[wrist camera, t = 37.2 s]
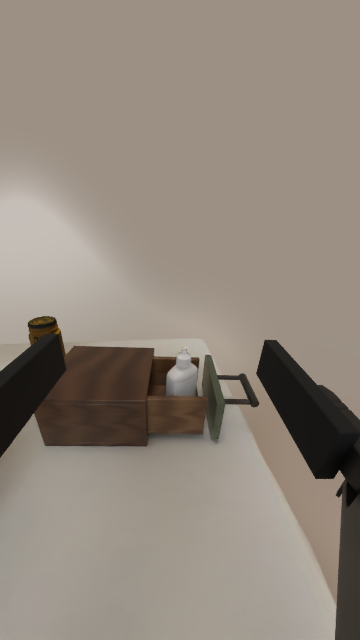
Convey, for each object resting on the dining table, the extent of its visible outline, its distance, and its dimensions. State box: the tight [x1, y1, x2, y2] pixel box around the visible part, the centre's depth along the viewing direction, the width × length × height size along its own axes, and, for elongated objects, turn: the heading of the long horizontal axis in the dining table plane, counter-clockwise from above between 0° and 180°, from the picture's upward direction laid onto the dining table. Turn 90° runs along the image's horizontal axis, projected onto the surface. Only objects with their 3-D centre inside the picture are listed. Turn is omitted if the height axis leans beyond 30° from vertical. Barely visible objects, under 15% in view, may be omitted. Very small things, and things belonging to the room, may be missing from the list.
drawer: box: [146, 355, 259, 439], centre depth 37 cm, size 21×12×8 cm, turn 92°
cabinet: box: [34, 346, 154, 446], centre depth 36 cm, size 16×14×10 cm
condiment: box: [28, 316, 67, 357], centre depth 46 cm, size 7×8×12 cm
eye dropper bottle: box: [166, 347, 198, 397], centre depth 35 cm, size 4×6×12 cm
